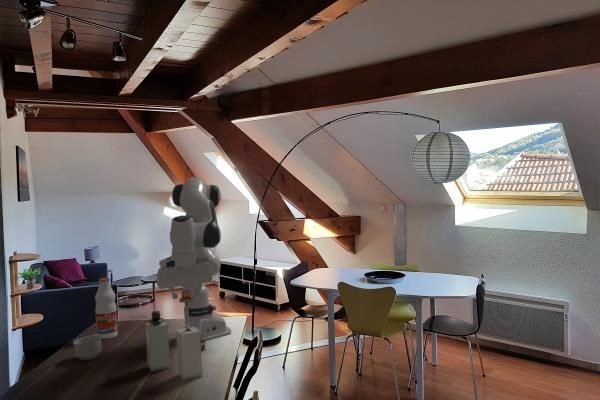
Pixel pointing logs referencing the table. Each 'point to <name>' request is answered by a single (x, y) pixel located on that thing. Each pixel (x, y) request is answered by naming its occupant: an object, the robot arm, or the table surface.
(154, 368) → the block
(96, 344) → the teacup
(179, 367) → the block
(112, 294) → the fruit juice
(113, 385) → the table surface
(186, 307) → the terracotta plunger
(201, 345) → the architectural model
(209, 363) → the table surface
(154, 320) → the black plunger
